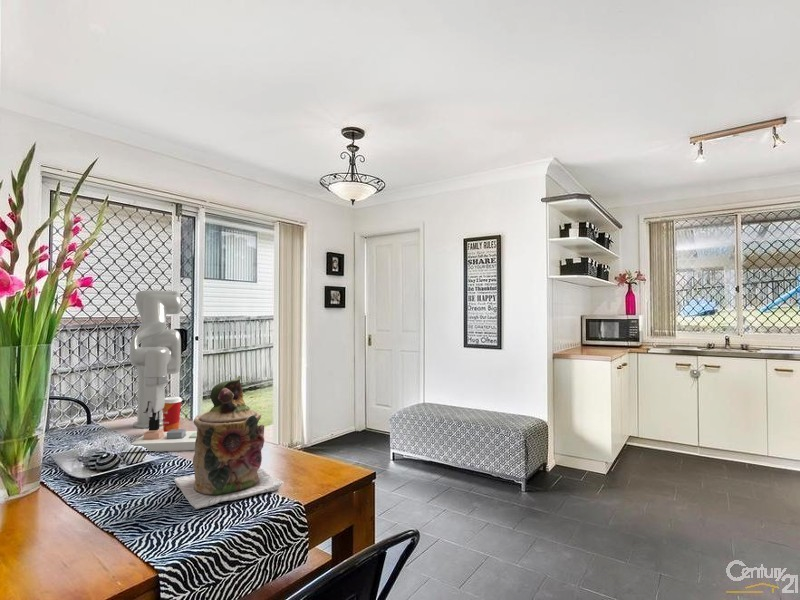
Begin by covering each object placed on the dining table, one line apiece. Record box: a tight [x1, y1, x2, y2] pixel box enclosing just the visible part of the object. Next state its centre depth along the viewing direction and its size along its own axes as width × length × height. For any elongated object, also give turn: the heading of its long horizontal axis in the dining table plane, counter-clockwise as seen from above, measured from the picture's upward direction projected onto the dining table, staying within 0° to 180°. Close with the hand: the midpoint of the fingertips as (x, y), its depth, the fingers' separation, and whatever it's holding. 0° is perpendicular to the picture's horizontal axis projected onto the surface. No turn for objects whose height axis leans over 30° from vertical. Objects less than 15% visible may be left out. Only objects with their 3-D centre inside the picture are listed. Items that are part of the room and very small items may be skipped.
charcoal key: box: [167, 428, 187, 439], centre depth 171 cm, size 5×5×2 cm
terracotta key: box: [143, 429, 164, 440], centre depth 170 cm, size 5×5×2 cm
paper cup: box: [162, 396, 183, 432], centre depth 189 cm, size 8×8×14 cm
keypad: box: [129, 430, 197, 452], centre depth 171 cm, size 16×26×3 cm, turn 100°
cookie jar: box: [174, 375, 284, 510], centre depth 131 cm, size 25×25×32 cm
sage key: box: [189, 433, 197, 438], centre depth 172 cm, size 5×5×2 cm
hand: (154, 429), depth 170 cm, fingers closed
